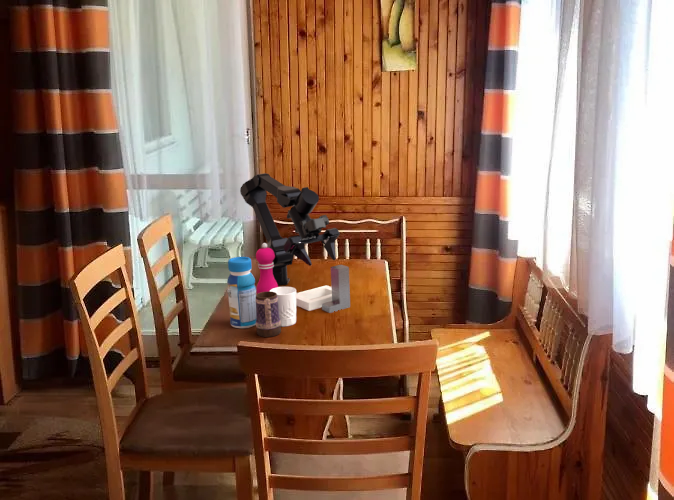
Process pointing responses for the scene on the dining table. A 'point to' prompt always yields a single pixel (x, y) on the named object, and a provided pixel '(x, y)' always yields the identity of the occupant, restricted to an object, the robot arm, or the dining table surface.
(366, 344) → the dining table surface
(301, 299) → the block
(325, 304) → the grey block
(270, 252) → the pepper mill
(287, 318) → the white cup
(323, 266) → the dining table surface
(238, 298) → the beverage bottle
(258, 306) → the mug
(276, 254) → the robot arm
